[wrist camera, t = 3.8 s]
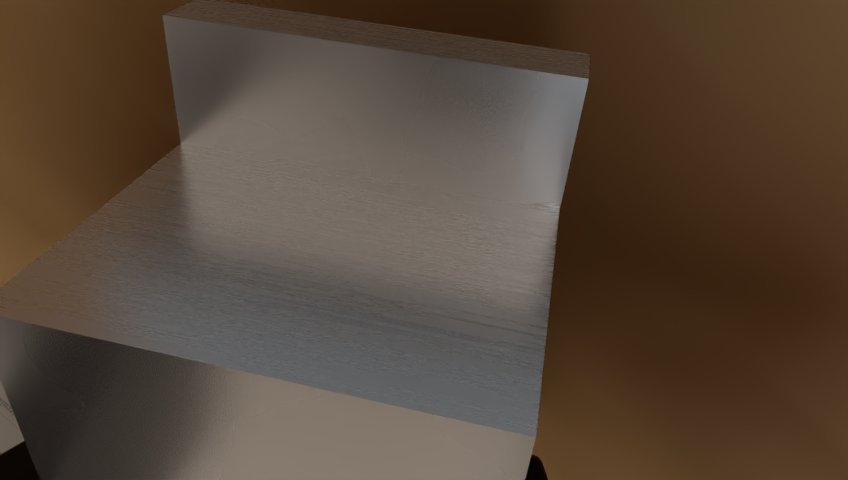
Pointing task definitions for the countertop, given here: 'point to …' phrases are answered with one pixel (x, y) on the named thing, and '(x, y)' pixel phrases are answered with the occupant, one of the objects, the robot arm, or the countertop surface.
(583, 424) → the countertop surface
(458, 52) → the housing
